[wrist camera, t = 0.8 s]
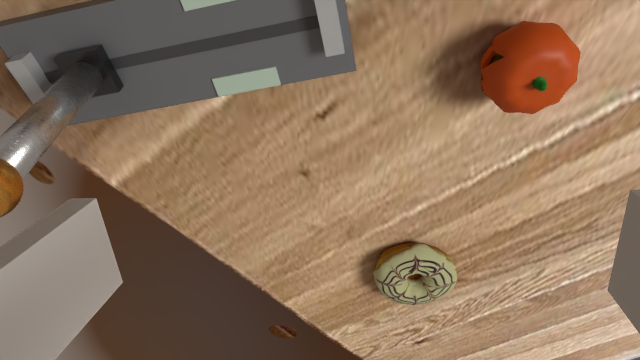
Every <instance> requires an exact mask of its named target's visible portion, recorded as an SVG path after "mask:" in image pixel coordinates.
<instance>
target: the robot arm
mask: <svg viewBox="0 0 640 360" xmlns="http://www.w3.org/2000/svg"><path fill="white" fill-rule="evenodd" d="M122 283H123V281H122V278H121V275H120V272H119V269H118V266H117V263H116V259H115V256H114V253H113V250H112V247H111V244H110V241H109V238H108V234H107V231H106V228H105V225H104V222H103V219H102V216H101V212H100V209H99V206H98V203H97V200H96V199H95V198H88V199H87V198H86V199H85V198H84V199H69V200H68V201H66V202H65V203H63V204H62V205H61V206H59V207H58V208H56V209H55V210H53V211H52V212H51V213H49V214H47V215H46V216H44V217H43V218H42V219H40V220H39V221H37V222H36V223H35V224H33V225H31V226H30V227H28V228H27V229H25V230H24V231H23V232H21V233H20V234H18V235H17V236H15V237H14V238H12V239H11V240H9V241H8V242H7V243H5V244H4V245H2V246H1V247H0V360H55V359H56V358H57V357H58V356H59V355H60V353H61V352H62V351H63V350H64V349H65V348H66V347H67V345H68V344H69V343H70V342H71V341H72V340H73V339H74V337H75V336H76V335H77V334H78V332H80V330H81V329H82V328H83V327H84V326H85V325H86V324H87V323H88V321H89V320H90V319H91V318H92V317H93V316H94V315H95V313H96V312H97V311H98V310H99V309H100V307H102V305H103V304H104V303H105V302H106V301H107V300H108V299H109V297H110V296H111V295H112V294H113V293H114V292H115V290H116V289H117V288H118V287H119V286H120V285H121V284H122ZM608 291H609V293H610V294H611V295H612V297H613V298H614V300H615V301H616V302H617V304H618V305H619V306H620V308H621V309H622V310H623V312H624V313H625V314H626V316H627V317H628V319H629V320H630V321H631V323H632V324H633V325H634V327H635V328H636V329H637V331H638V332H639V333H640V190H630V193H629V197H628V202H627V206H626V211H625V215H624V220H623V224H622V228H621V233H620V237H619V242H618V246H617V251H616V255H615V259H614V264H613V268H612V273H611V277H610V282H609V286H608Z"/></svg>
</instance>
